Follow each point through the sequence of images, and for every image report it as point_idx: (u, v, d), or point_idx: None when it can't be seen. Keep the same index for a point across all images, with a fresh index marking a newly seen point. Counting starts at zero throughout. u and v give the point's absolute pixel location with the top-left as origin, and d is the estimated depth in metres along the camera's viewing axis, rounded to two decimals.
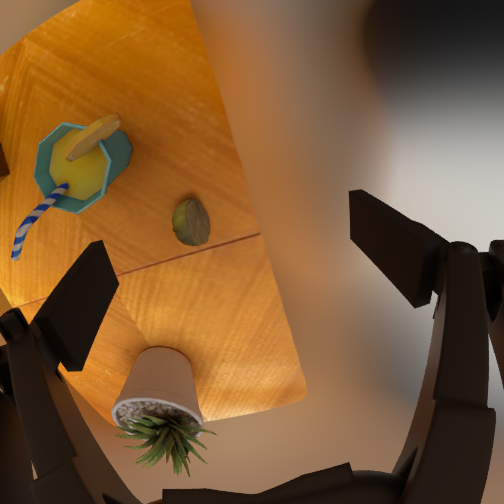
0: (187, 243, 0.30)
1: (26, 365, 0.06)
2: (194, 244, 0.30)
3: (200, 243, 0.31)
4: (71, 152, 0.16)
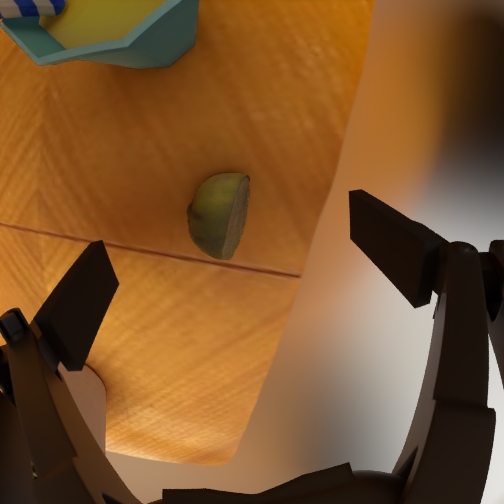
0: (205, 248, 0.16)
1: (26, 365, 0.06)
2: (217, 255, 0.16)
3: (225, 257, 0.16)
4: None
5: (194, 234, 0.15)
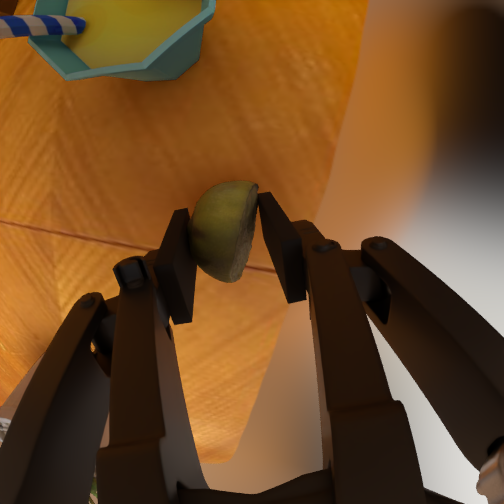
0: (210, 270, 0.13)
1: (136, 319, 0.08)
2: (224, 279, 0.14)
3: (233, 280, 0.14)
4: None
5: (196, 255, 0.13)
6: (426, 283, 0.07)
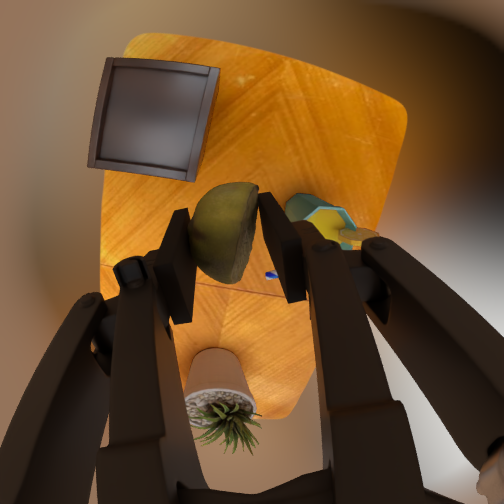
0: (210, 272, 0.13)
1: (136, 319, 0.08)
2: (224, 280, 0.13)
3: (233, 281, 0.14)
4: None
5: (197, 256, 0.13)
6: (426, 283, 0.07)
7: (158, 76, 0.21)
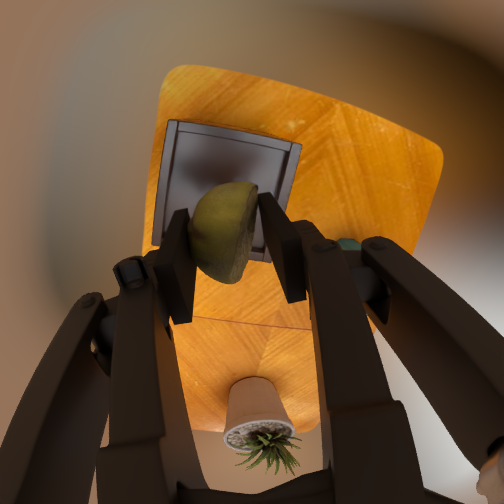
0: (210, 272, 0.13)
1: (136, 319, 0.08)
2: (224, 280, 0.13)
3: (233, 281, 0.14)
4: None
5: (196, 256, 0.13)
6: (426, 283, 0.07)
7: (231, 146, 0.21)
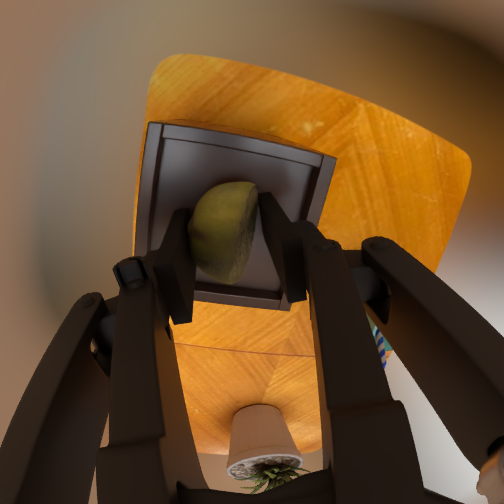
0: (210, 272, 0.13)
1: (136, 319, 0.08)
2: (223, 280, 0.13)
3: (233, 281, 0.14)
4: None
5: (196, 256, 0.13)
6: (427, 283, 0.07)
7: (238, 158, 0.15)
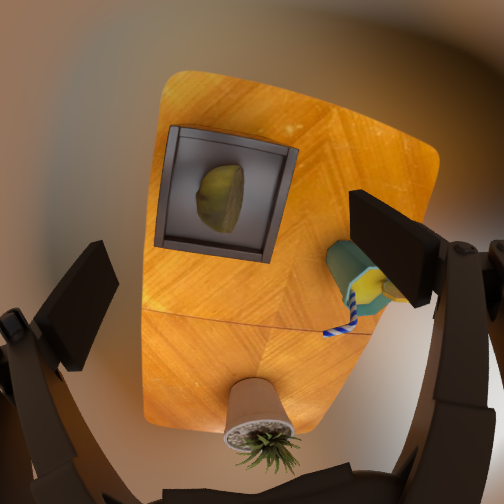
0: (210, 222, 0.20)
1: (26, 365, 0.06)
2: (219, 228, 0.20)
3: (226, 231, 0.21)
4: (400, 301, 0.32)
5: (201, 212, 0.20)
6: None
7: (230, 151, 0.22)
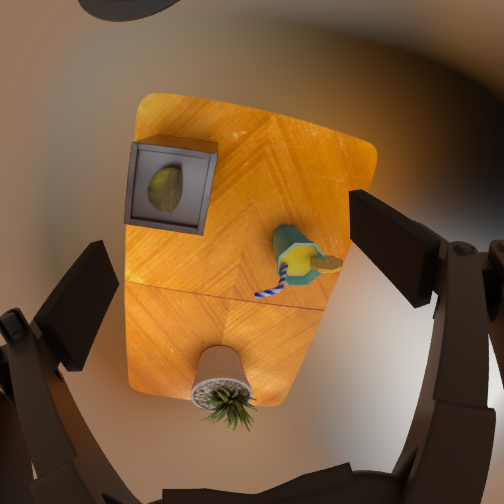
0: (154, 205, 0.30)
1: (26, 365, 0.06)
2: (160, 209, 0.30)
3: (165, 210, 0.31)
4: (323, 271, 0.42)
5: (149, 199, 0.30)
6: None
7: (172, 157, 0.32)
